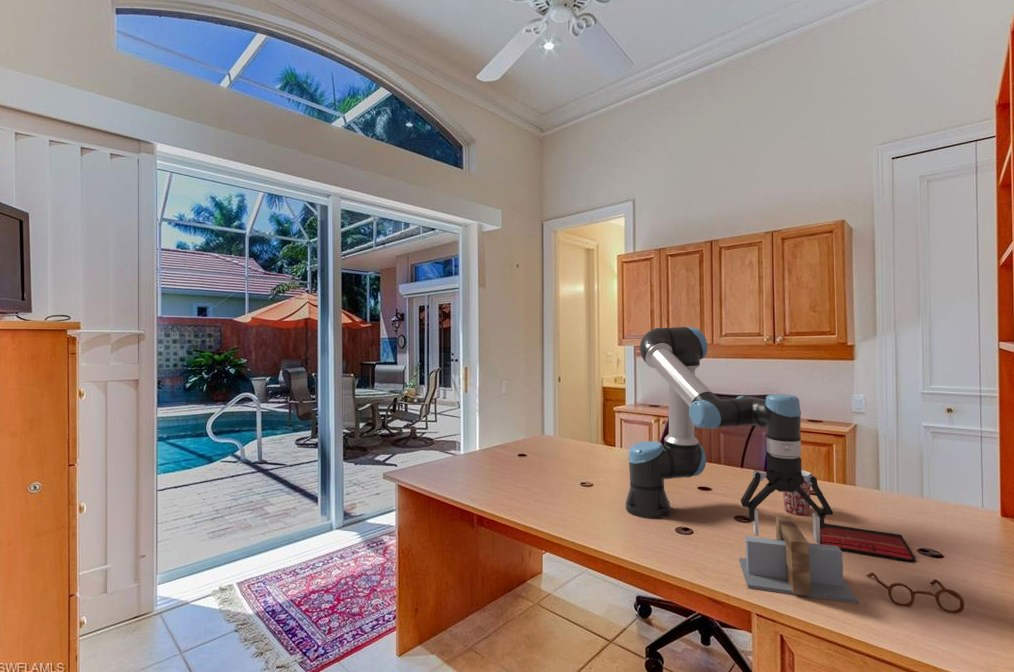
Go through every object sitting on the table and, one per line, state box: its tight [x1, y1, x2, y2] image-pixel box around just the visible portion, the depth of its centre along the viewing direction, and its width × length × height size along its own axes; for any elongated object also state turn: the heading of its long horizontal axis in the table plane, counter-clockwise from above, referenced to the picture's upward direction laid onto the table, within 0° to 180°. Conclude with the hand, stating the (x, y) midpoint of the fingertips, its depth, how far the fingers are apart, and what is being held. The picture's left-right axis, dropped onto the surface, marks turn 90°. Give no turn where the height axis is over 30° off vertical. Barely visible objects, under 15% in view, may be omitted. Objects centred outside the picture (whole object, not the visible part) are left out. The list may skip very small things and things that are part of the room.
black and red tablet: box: [819, 523, 917, 564], centre depth 128 cm, size 16×2×21 cm
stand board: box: [738, 535, 859, 605], centre depth 110 cm, size 22×14×9 cm, turn 70°
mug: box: [782, 469, 812, 517], centre depth 154 cm, size 13×9×14 cm
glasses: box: [866, 571, 965, 614], centre depth 103 cm, size 13×13×5 cm
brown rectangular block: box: [775, 514, 811, 595], centre depth 110 cm, size 4×16×12 cm, turn 160°
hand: (785, 537), depth 115 cm, fingers open, 13 cm apart
